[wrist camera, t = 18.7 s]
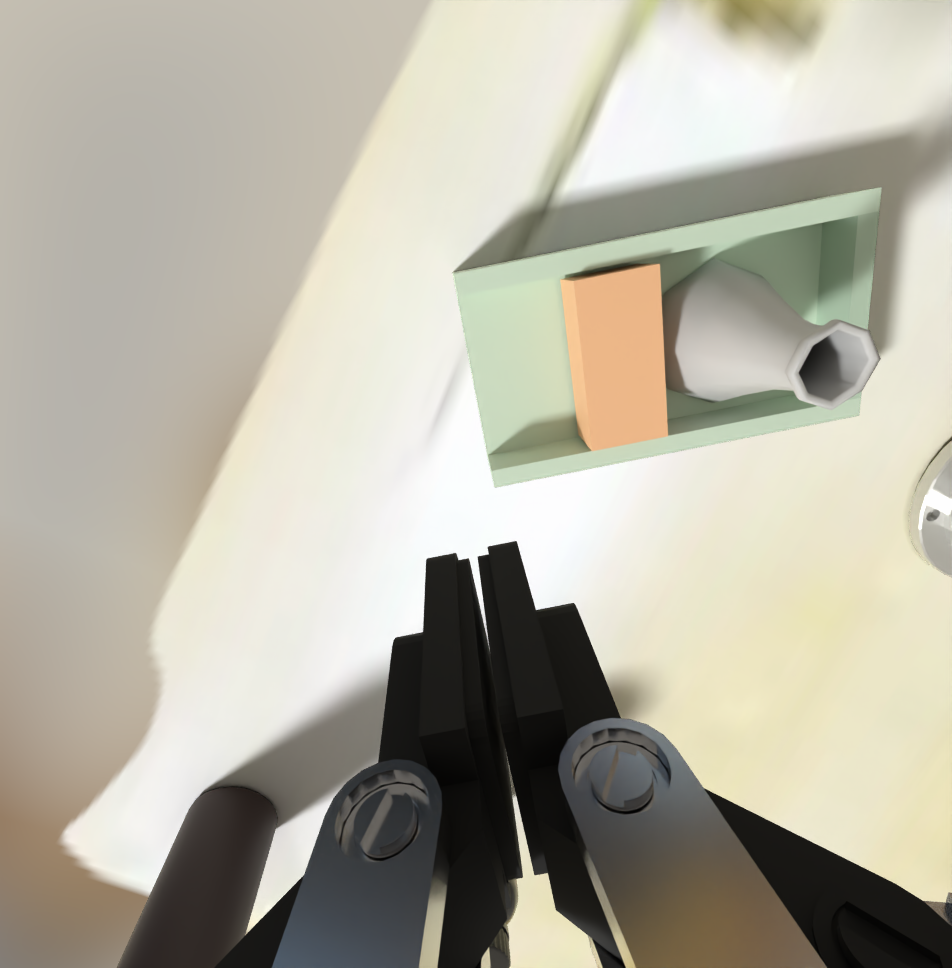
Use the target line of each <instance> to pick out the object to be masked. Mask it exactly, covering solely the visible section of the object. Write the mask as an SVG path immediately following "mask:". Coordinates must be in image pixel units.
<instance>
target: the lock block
mask: <svg viewBox="0 0 952 968" xmlns="http://www.w3.org/2000/svg"><path fill="white" fill-rule="evenodd" d="M560 283H561V291H562V300H563V308H564V317H565V325H566V334H567V342H568V351H569V360H570V368H571V377H572V385H573V394H574V402H575V411H576V419H577V428H578V435H579V436H580V437H581V438H582V439H583V441H584V442H585V443H586V444H587V446H588V447H589V448H590V449H591V451H596V450H601V449H606V448H612V447H617V446H622V445H627V444H632V443H637V442H642V441H647V440H652V439H657V438H662V437H667V436H668V423H667V402H666V381H665V360H664V339H663V318H662V297H661V276H660V264H633V265H628V266H623V267H618V268H613V269H608V270H604V271H599V272H594V273H589V274H584V275H579V276H574V277H569V278H564V279H560Z"/></svg>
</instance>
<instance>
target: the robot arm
mask: <svg viewBox="0 0 952 968" xmlns="http://www.w3.org/2000/svg"><path fill="white" fill-rule="evenodd" d="M909 532H910V536H911V540H912V543H913V546H914V547H915V549H916V551H917V552H918V554H919V556H920V557H921V558H923V559H924V560H925V561H926V562H927V563H928V564H929V565H931V566H932V567H934V568H936V569H937V570H939V571H940V572H942V573H943V574H945V575H948V576H950V577H952V440H951V441H950V442H949V443H948V444H947V445H946V446H945V447H944V448H943V449H942V450H941V451H940V452H939V454H938V455H937V456H936V457H935V459H934V460H933V461H932V462H931V464H930V465H929V466H928V468H927V470H926V471H925V473H924V475H923V476H922V478H921V480H920V481H919V484H918V486H917V489H916V491H915V494H914V496H913V499H912V503H911V508H910V513H909ZM488 552H489V554H488V555H483V556H478V563H479V571H480V578H481V586H482V594H483V601H484V609H485V616H486V624H487V632H488V639H489V646H488V642H487V637H486V633H485V628H484V624H483V619H482V615H481V610H480V606H479V601H478V597H477V592H476V588H475V583H474V579H473V574H472V570H471V565H470V561H469V558H468V559H463V560H458V558H457V554H456V553H453V554H448V555H443V556H438V557H433V558H428V559H427V560H426V579H425V602H424V626H423V632H422V633H417V634H412V635H407V636H401V637H396V638H395V639H394V641H393V646H392V654H391V662H390V670H389V679H388V687H387V695H386V703H385V712H384V720H383V728H382V736H381V745H380V753H379V761H378V763H377V764H375V765H373V766H371V767H368V768H366V769H364V770H362V771H361V772H359V773H358V774H357V775H356V776H354V777H353V778H352V779H350V780H349V781H348V782H347V783H346V784H345V785H344V786H343V787H342V789H341V790H340V791H339V792H338V793H337V795H336V796H335V797H334V798H333V800H332V802H331V804H330V806H329V808H328V810H327V812H326V815H325V817H324V820H323V823H322V826H321V828H320V831H319V834H318V837H317V840H316V843H315V846H314V848H313V851H312V854H311V857H310V860H309V863H308V866H307V868H306V871H305V874H304V876H303V877H302V878H301V879H300V880H299V881H298V882H297V883H296V884H295V885H294V886H293V887H292V888H291V889H290V890H289V891H288V892H287V893H286V894H285V895H284V896H283V897H282V898H281V899H280V900H279V901H278V902H277V903H276V904H275V905H274V907H273V908H272V909H271V910H270V911H269V912H268V913H267V914H266V915H265V916H264V917H263V918H262V919H261V920H260V921H259V922H258V923H257V924H256V925H255V926H254V927H253V928H252V929H251V930H250V931H249V932H248V933H247V934H246V935H245V936H244V937H243V938H242V939H241V940H240V941H239V942H238V943H237V945H236V946H235V947H234V948H233V949H232V950H231V951H230V952H229V953H228V954H227V955H226V956H225V957H224V958H223V959H222V960H221V961H220V962H219V963H218V964H217V965H216V966H215V967H214V968H490V953H489V946H490V945H491V943H492V942H493V940H494V939H495V937H496V936H497V934H498V933H499V931H500V929H501V928H502V926H503V925H504V923H505V922H506V920H507V910H506V908H511V907H512V900H511V891H510V882H509V880H513V879H518V878H523V874H522V865H521V858H520V851H519V843H518V836H517V829H516V821H515V814H514V807H513V799H512V792H511V785H510V778H509V770H508V763H507V757H508V761H509V766H510V770H511V774H512V779H513V783H514V787H515V792H516V796H517V801H518V805H519V809H520V814H521V818H522V822H523V827H524V831H525V836H526V840H527V844H528V849H529V853H530V857H531V862H532V866H533V871H534V875H539V874H544V873H548V875H549V880H550V884H551V889H552V894H553V899H554V903H555V908H556V910H557V911H558V912H559V913H561V914H562V915H563V916H564V917H566V918H567V919H568V920H569V921H571V922H572V923H573V924H574V925H576V926H577V927H578V928H580V929H581V930H582V931H583V932H585V933H586V934H587V935H588V938H589V942H590V947H591V950H592V953H593V955H594V958H595V961H596V964H597V967H598V968H952V893H948V896H947V900H946V903H943V902H930V901H922V900H921V899H919V898H917V897H916V896H914V895H913V894H911V893H909V892H908V891H906V890H905V889H903V888H901V887H900V886H898V885H897V884H895V883H893V882H891V881H889V880H887V879H885V878H883V877H881V876H879V875H877V874H875V873H873V872H871V871H869V870H867V869H865V868H863V867H861V866H859V865H857V864H855V863H853V862H851V861H849V860H847V859H845V858H843V857H841V856H839V855H837V854H835V853H833V852H831V851H829V850H827V849H825V848H823V847H821V846H819V845H816V844H814V843H812V842H810V841H808V840H806V839H804V838H802V837H800V836H798V835H796V834H794V833H792V832H790V831H788V830H786V829H784V828H782V827H780V826H778V825H776V824H774V823H772V822H770V821H768V820H766V819H764V818H762V817H760V816H758V815H756V814H754V813H752V812H750V811H748V810H746V809H744V808H742V807H740V806H738V805H736V804H734V803H732V802H730V801H728V800H726V799H724V798H722V797H720V796H718V795H716V794H714V793H712V792H710V791H708V790H706V789H704V788H703V787H702V785H701V784H700V782H699V781H698V779H697V778H696V776H695V775H694V774H693V772H692V771H691V769H690V768H689V766H688V765H687V763H686V762H685V760H684V759H683V758H682V756H681V755H680V753H679V752H678V750H677V749H676V748H675V747H674V745H673V744H672V743H671V742H670V741H669V740H668V739H667V738H666V737H665V736H664V735H663V734H662V733H660V732H658V731H657V730H655V729H654V728H652V727H650V726H649V725H647V724H644V723H640V722H637V721H634V720H631V719H621V717H620V715H619V712H618V710H617V707H616V705H615V702H614V700H613V697H612V695H611V692H610V690H609V687H608V685H607V682H606V680H605V677H604V675H603V672H602V670H601V667H600V665H599V662H598V660H597V657H596V655H595V652H594V650H593V647H592V645H591V642H590V640H589V637H588V635H587V632H586V630H585V627H584V625H583V622H582V620H581V617H580V615H579V612H578V610H577V608H576V605H575V604H574V603H571V604H566V605H560V606H555V607H550V608H545V609H540V610H536V609H535V606H534V602H533V598H532V595H531V591H530V588H529V584H528V580H527V577H526V573H525V570H524V566H523V562H522V559H521V555H520V552H519V548H518V545H517V541H514V542H509V543H504V544H499V545H494V546H489V547H488ZM489 647H490V651H489ZM490 654H491V655H490ZM506 753H507V756H506Z"/></svg>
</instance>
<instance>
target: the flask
mask: <svg viewBox="0 0 952 968" xmlns="http://www.w3.org/2000/svg"><path fill="white" fill-rule="evenodd" d="M662 318H663V339H664V360H665V381H666V388H667V389H669V390H672V391H676V392H679V393H682V394H685V395H688V396H691V397H695V398H698V399H701V400H704V401H707V402H710V403H715V402H720V401H724V400H727V399H731V398H735V397H739V396H742V395H747V394H752V393H758V392H763V391H768V390H773V389H775V390H789V391H794V393H795V395H796V397H797V398H798V399H799V400H801V401H804V402H807V403H810V404H813V405H816V406H819V407H822V408H825V409H828V410H833V409H834V408H836V407H837V406H839V405H840V404H842V403H844V402H845V401H847V400H848V399H850V398H852V397H853V396H855V395H856V394H858V393H859V392H861V391H862V390H863V388H864V387H865V385H866V383H867V381H868V380H869V378H870V376H871V374H872V373H873V371H874V369H875V367H876V366H877V364H878V362H879V361H880V356H879V353H878V351H877V348H876V346H875V343H874V341H873V338H872V336H871V333H870V331H869V330H867V329H864V328H861V327H858V326H856V325H853V324H850V323H847V322H845V321H842V320H838V319H834V320H831V321H829V322H828V323H826V324H825V325H823V326H821V325H816V324H813V323H811V322H809V321H807V320H805V319H803V318H802V317H801V316H800V315H799V314H798V313H797V312H796V311H795V310H794V309H793V308H792V307H791V306H790V305H789V304H788V303H787V302H786V301H784V300H783V299H782V297H781V296H780V295H779V294H778V293H777V292H776V290H775V289H774V288H773V287H772V286H771V285H770V284H769V282H768V281H767V280H766V279H765V278H764V277H763V276H761V275H759V274H756V273H753V272H750V271H748V270H745V269H742V268H740V267H737V266H734V265H731V264H729V263H726V262H723V261H720V260H718V259H715V258H713V259H711V260H710V261H709V262H707V263H706V264H704V265H703V266H702V267H700V268H699V269H697V270H696V271H695V272H693V273H692V274H691V275H689V276H688V277H686V278H685V279H684V280H682V281H681V282H679V283H678V284H677V285H675V286H674V287H672V288H671V289H670V290H668V291H667V292H665V294H664V296H663V299H662Z"/></svg>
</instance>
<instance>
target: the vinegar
mask: <svg viewBox="0 0 952 968" xmlns="http://www.w3.org/2000/svg"><path fill="white" fill-rule="evenodd" d="M276 825H277V815H276V810H275V808H274V807H273V806H272V804H271V803H270V802H269V800H267V799H266V798H265V797H263V796H262V795H260V794H259V793H257V792H254V791H251V790H249V789H245V788H239V787H223V788H218V789H215V790H211V791H208V792H206V793H204V794H203V795H201V796H200V797H198V798H197V799H196V800H195V802H194V803H193V804H192V806H191V807H190V809H189V811H188V813H187V815H186V817H185V819H184V822H183V824H182V826H181V828H180V830H179V832H178V835H177V837H176V839H175V841H174V843H173V846H172V848H171V850H170V852H169V854H168V857H167V859H166V861H165V863H164V865H163V868H162V870H161V872H160V874H159V876H158V878H157V881H156V883H155V885H154V887H153V889H152V892H151V894H150V896H149V898H148V900H147V903H146V905H145V907H144V909H143V911H142V914H141V916H140V918H139V920H138V923H137V925H136V927H135V929H134V931H133V933H132V936H131V938H130V940H129V942H128V944H127V946H126V949H125V951H124V953H123V955H122V957H121V959H120V962H119V964H118V966H117V968H214V967H215V966H216V965H217V964H218V963H219V962H220V961H221V960H222V959H223V958H224V957H225V956H226V955H227V954H228V953H229V952H230V951H231V950H232V949H233V948H234V947H235V946H236V945H237V943H238V942H239V941H240V940H241V939H242V938H243V937H244V936H245V933H246V930H247V926H248V923H249V920H250V916H251V913H252V909H253V906H254V902H255V899H256V895H257V892H258V888H259V885H260V881H261V878H262V874H263V871H264V867H265V864H266V861H267V857H268V854H269V850H270V847H271V843H272V840H273V836H274V833H275V829H276Z"/></svg>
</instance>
